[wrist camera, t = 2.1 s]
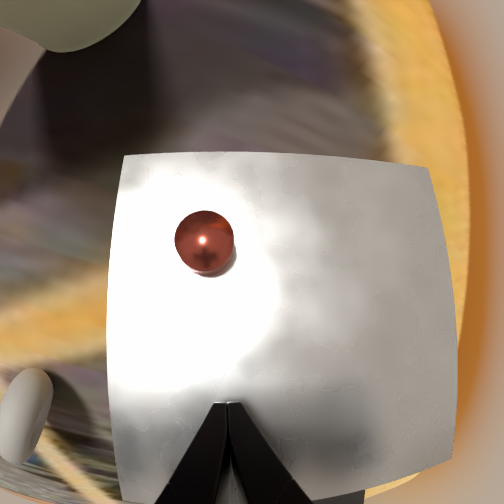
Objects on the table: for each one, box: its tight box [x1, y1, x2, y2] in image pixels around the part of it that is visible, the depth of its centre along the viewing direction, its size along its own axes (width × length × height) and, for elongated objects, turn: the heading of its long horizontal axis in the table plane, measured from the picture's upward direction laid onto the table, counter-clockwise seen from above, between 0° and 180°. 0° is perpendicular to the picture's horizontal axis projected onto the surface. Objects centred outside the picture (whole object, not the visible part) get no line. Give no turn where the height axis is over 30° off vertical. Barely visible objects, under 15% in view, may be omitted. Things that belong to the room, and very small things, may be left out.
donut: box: [0, 368, 53, 464], centre depth 18 cm, size 10×4×10 cm, turn 148°
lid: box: [107, 152, 458, 504], centre depth 10 cm, size 17×14×2 cm
